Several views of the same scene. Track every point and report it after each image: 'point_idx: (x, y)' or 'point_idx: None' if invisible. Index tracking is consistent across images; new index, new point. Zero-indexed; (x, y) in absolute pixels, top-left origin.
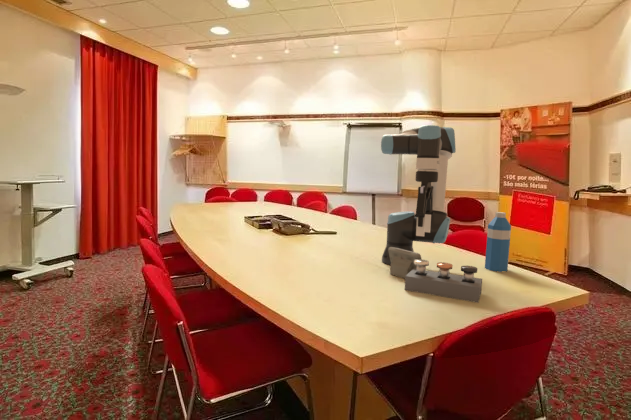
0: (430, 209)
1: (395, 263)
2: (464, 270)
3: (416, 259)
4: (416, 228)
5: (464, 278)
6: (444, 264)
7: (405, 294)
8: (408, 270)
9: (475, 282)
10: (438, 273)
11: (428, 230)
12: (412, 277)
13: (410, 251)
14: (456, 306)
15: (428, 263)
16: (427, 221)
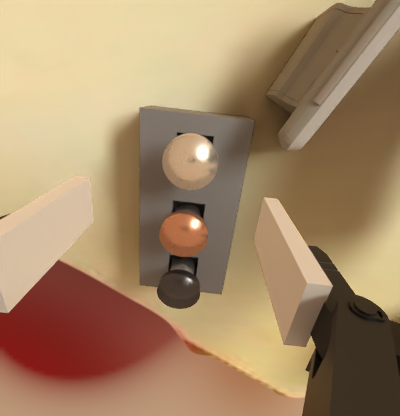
0: (303, 409)
1: (328, 28)
2: (161, 279)
3: (208, 142)
4: (45, 193)
5: (174, 264)
6: (179, 236)
7: (112, 114)
8: (276, 98)
9: None
10: (224, 202)
11: (257, 239)
12: (140, 132)
13: (331, 99)
14: (100, 227)
15: (183, 187)
16: (273, 271)
